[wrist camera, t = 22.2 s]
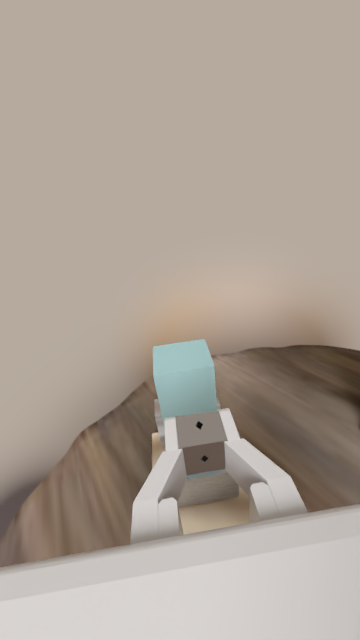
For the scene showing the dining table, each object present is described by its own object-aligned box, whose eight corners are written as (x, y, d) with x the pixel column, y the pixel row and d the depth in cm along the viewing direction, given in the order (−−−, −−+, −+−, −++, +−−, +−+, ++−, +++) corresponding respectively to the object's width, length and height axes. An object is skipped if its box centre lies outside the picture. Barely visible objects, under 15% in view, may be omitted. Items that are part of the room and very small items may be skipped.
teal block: (220, 474, 32) (214, 365, 24) (175, 482, 32) (153, 374, 24) (212, 441, 37) (204, 338, 29) (172, 447, 37) (153, 346, 28)
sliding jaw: (238, 496, 30) (238, 470, 27) (164, 509, 29) (157, 484, 27) (231, 471, 32) (231, 445, 30) (163, 483, 32) (157, 458, 30)
